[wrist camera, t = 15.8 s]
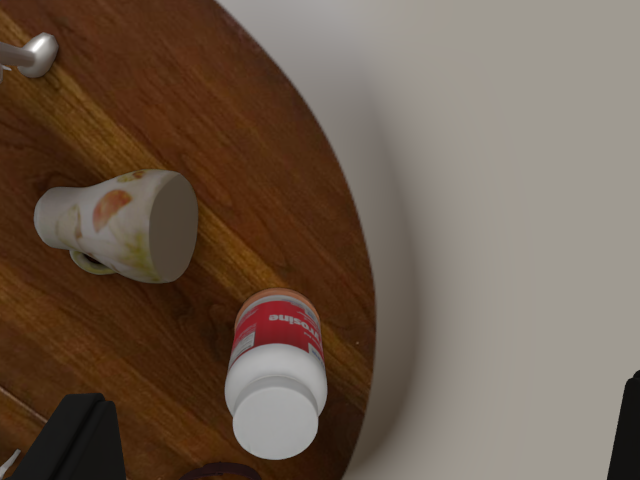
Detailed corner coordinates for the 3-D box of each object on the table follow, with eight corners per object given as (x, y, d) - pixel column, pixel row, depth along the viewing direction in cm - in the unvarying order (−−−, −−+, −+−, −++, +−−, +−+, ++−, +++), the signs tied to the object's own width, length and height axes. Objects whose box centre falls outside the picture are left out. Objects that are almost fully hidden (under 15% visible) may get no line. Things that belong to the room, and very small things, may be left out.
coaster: (232, 288, 39) (231, 292, 38) (320, 285, 39) (320, 289, 39) (237, 365, 41) (236, 370, 40) (320, 362, 41) (321, 366, 41)
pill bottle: (336, 326, 40) (355, 420, 29) (282, 381, 41) (281, 490, 30) (273, 275, 38) (269, 354, 28) (218, 333, 39) (194, 431, 29)
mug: (33, 160, 36) (48, 154, 27) (178, 175, 41) (228, 174, 32) (27, 272, 36) (40, 300, 28) (171, 273, 41) (220, 297, 33)
